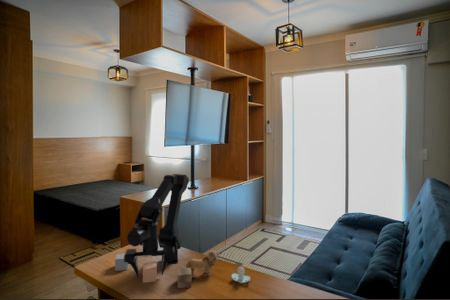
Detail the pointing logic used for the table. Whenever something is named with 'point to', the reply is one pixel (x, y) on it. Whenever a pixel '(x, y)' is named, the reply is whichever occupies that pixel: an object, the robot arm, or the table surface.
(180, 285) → the walnut block
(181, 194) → the robot arm
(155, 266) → the terracotta block
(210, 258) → the lion figurine
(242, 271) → the pacifier
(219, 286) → the table surface
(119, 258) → the slate grey block
